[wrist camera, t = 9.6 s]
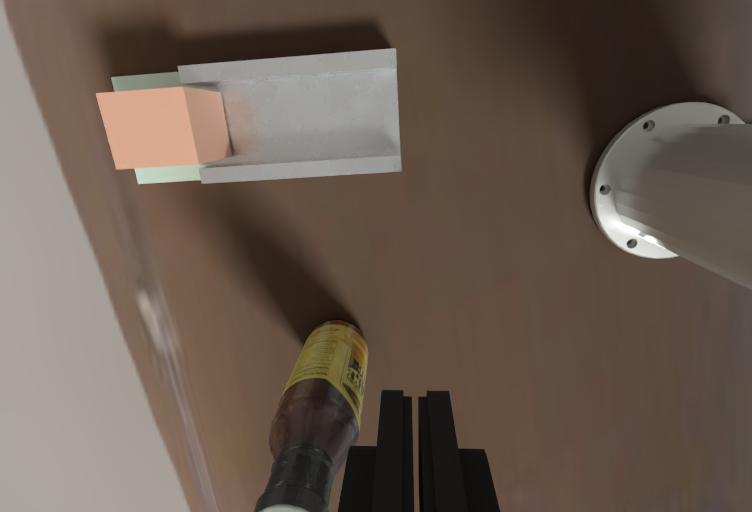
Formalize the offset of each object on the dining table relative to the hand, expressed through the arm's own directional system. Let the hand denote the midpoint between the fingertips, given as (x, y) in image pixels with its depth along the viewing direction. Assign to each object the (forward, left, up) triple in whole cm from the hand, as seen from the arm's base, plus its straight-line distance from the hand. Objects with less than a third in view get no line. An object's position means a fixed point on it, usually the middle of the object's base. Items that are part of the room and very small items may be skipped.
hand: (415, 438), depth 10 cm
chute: (+8, -8, -26) cm, 29 cm away
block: (+17, -8, -26) cm, 32 cm away
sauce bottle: (+7, +13, -27) cm, 30 cm away
